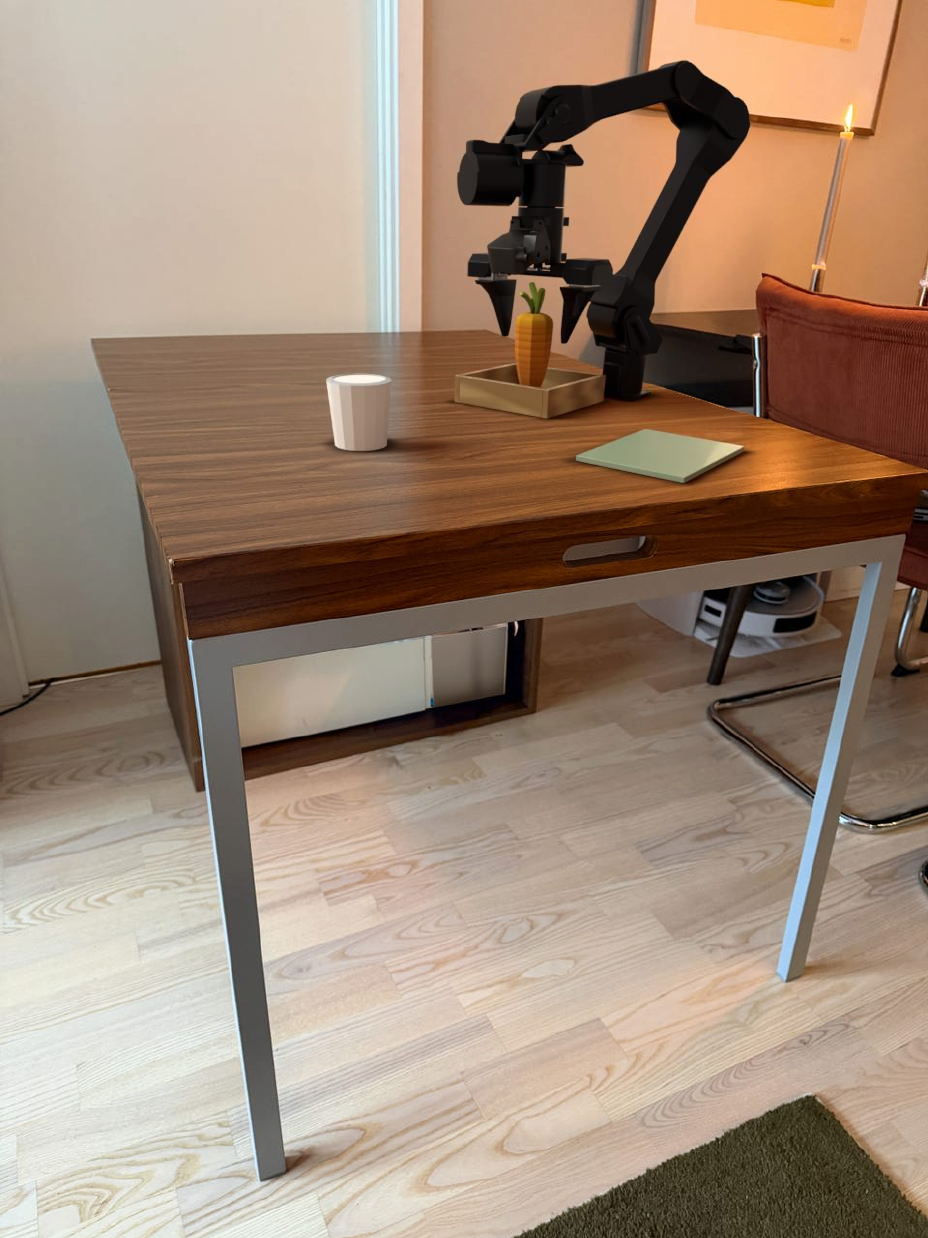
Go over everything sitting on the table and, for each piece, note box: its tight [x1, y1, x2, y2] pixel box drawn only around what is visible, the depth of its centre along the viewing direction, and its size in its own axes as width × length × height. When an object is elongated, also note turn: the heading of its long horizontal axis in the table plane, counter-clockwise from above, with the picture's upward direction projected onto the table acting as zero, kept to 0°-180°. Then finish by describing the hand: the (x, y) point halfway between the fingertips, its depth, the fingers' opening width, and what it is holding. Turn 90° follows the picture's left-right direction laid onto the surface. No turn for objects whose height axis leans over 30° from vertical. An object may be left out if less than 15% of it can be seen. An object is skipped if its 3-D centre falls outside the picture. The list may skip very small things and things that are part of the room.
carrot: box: [514, 281, 554, 388], centre depth 110 cm, size 5×5×15 cm
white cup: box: [325, 373, 392, 452], centre depth 89 cm, size 7×7×7 cm
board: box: [575, 428, 745, 484], centre depth 89 cm, size 16×12×1 cm
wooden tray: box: [454, 362, 606, 419], centre depth 112 cm, size 15×15×4 cm
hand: (533, 339), depth 110 cm, fingers open, 9 cm apart
